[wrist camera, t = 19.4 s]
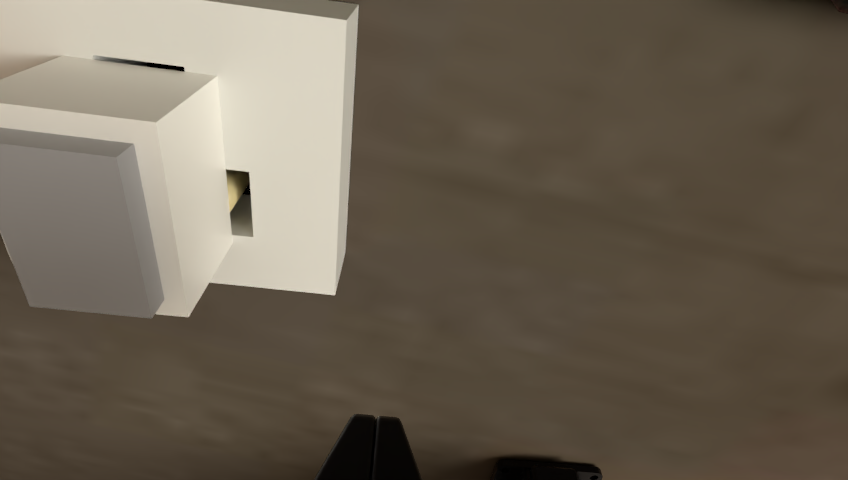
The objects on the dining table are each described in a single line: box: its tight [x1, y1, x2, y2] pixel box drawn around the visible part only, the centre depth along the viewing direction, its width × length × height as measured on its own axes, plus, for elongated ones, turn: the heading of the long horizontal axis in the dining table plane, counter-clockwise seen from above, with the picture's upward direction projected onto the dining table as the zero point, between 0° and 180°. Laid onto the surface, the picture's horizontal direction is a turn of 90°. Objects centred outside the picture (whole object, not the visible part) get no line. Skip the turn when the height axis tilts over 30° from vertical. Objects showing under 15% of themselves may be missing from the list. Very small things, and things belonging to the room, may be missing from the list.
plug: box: [0, 56, 249, 318], centre depth 15 cm, size 6×5×7 cm
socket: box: [0, 0, 359, 295], centre depth 17 cm, size 10×12×3 cm
